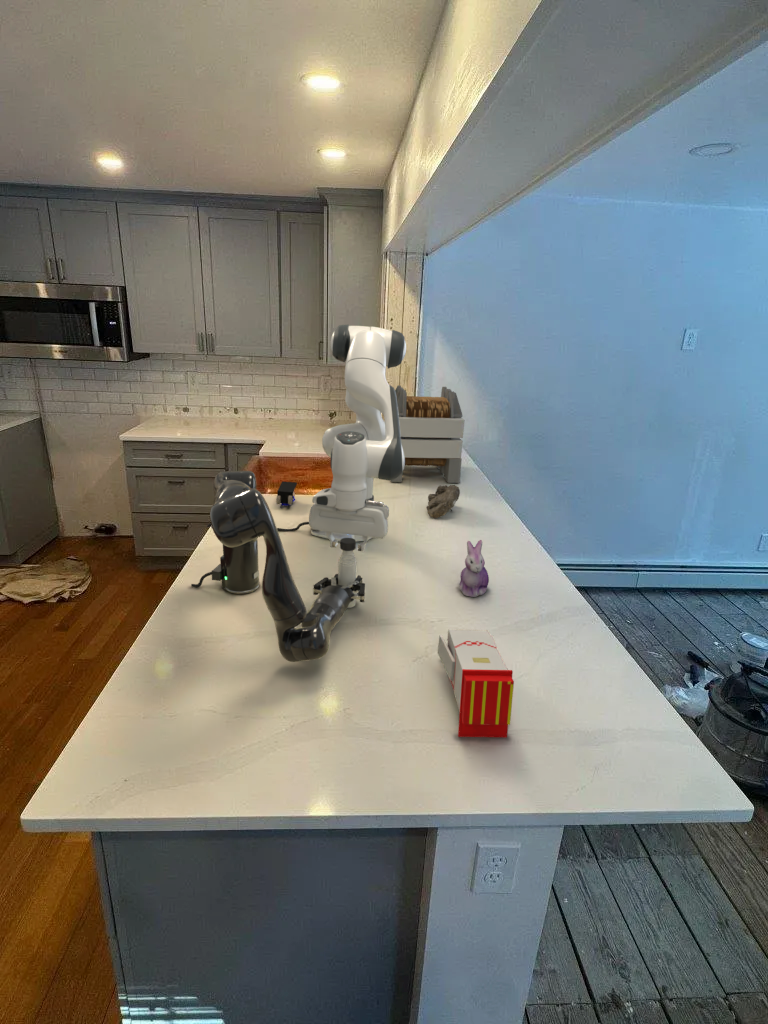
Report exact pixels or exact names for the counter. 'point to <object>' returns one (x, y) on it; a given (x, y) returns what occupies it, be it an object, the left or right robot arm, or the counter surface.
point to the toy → (478, 682)
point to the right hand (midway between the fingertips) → (347, 548)
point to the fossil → (442, 500)
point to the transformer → (431, 432)
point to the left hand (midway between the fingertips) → (349, 577)
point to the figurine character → (286, 494)
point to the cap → (347, 544)
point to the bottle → (347, 570)
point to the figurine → (474, 572)
